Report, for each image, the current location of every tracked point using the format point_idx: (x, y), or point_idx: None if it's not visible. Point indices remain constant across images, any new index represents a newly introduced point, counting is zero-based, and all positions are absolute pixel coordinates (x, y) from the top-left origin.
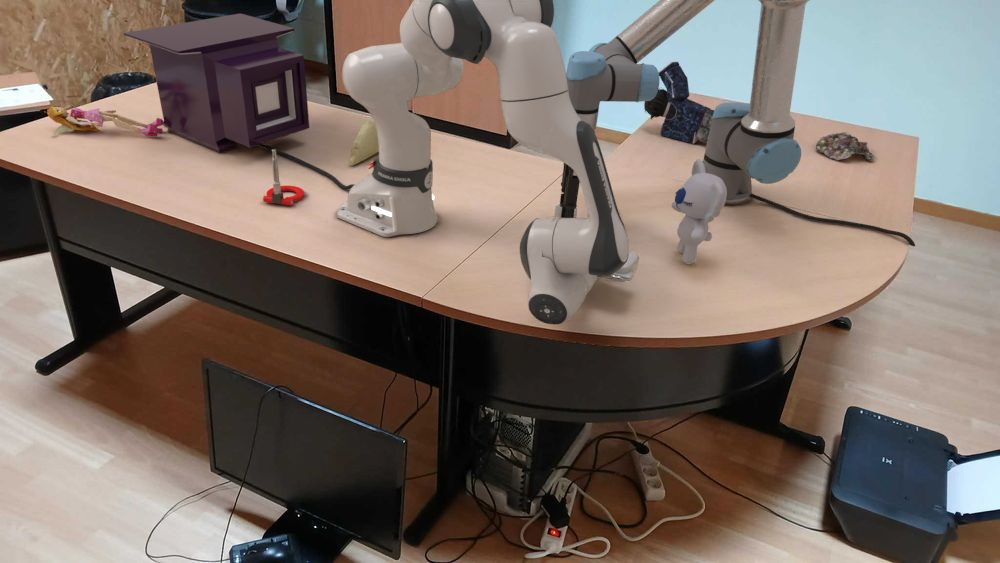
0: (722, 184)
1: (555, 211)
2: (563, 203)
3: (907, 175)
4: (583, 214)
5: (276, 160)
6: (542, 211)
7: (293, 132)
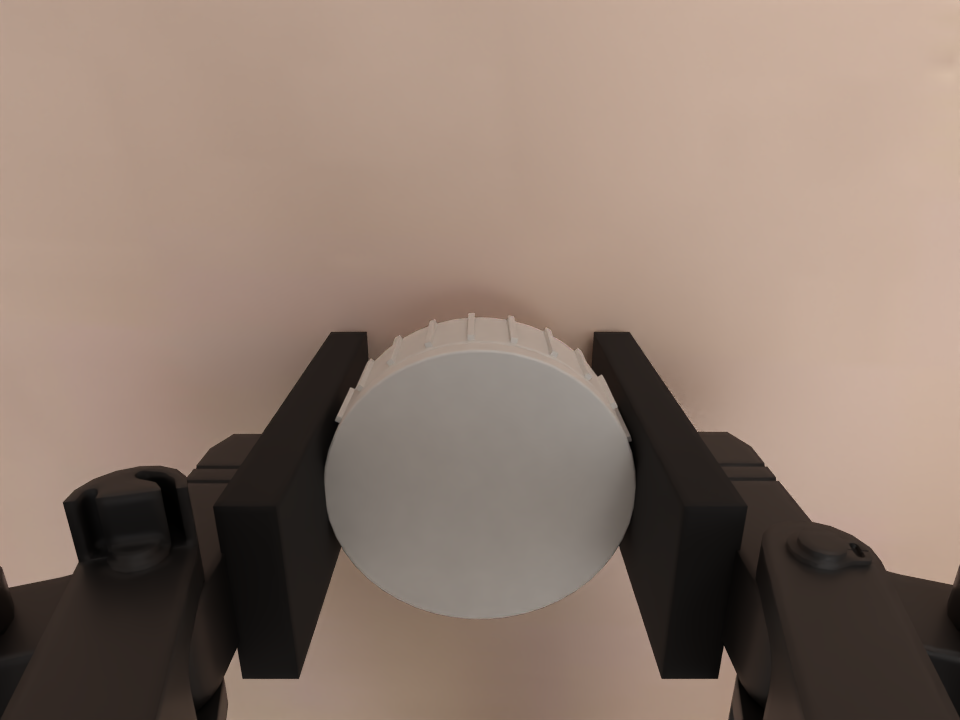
0: None
1: (444, 338)
2: (118, 556)
3: None
4: None
5: None
6: (835, 165)
7: None
